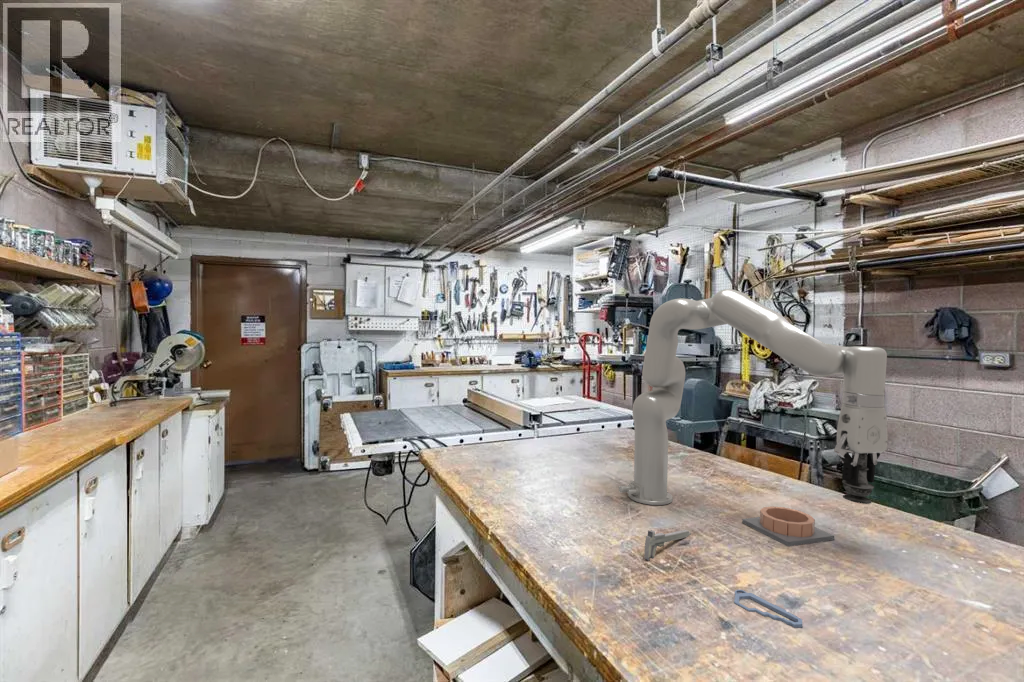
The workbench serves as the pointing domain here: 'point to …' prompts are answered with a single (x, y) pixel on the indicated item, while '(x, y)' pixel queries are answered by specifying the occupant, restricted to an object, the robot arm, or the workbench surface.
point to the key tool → (744, 595)
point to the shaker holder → (787, 526)
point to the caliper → (660, 541)
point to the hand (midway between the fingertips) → (858, 480)
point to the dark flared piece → (859, 484)
